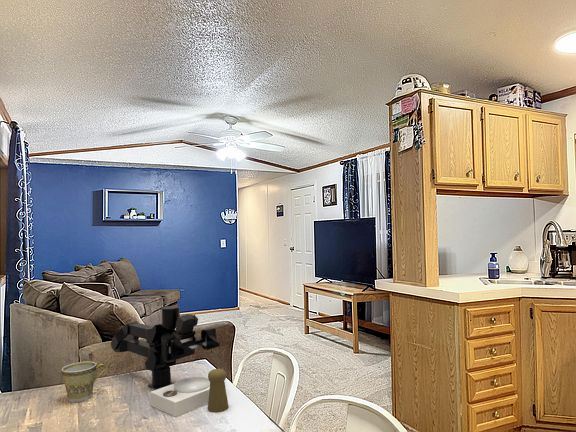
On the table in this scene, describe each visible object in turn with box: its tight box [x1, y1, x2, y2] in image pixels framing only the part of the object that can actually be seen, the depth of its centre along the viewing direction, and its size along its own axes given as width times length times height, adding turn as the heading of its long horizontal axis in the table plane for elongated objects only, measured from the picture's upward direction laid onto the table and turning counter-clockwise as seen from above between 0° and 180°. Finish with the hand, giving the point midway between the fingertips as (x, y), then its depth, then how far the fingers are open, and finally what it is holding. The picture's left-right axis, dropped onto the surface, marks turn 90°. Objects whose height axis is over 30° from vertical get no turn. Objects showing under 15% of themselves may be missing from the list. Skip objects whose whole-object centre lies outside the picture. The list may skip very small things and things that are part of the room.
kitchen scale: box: [149, 376, 210, 418], centre depth 132 cm, size 13×16×5 cm
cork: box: [207, 368, 229, 414], centre depth 127 cm, size 6×6×11 cm
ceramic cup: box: [61, 361, 106, 403], centre depth 140 cm, size 13×10×10 cm
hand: (207, 348), depth 130 cm, fingers open, 9 cm apart
